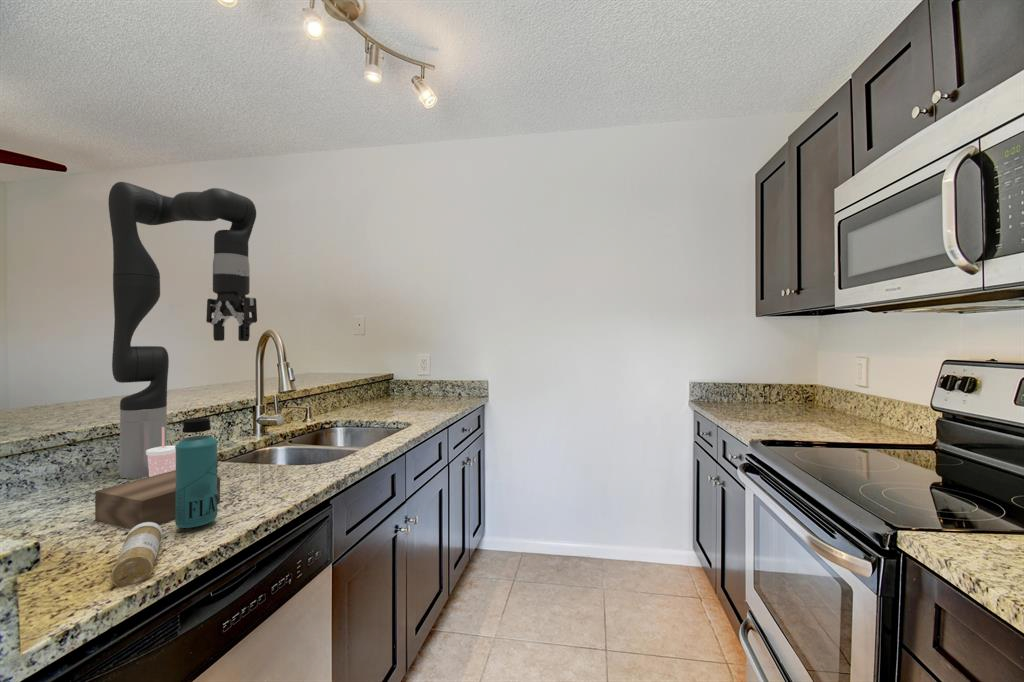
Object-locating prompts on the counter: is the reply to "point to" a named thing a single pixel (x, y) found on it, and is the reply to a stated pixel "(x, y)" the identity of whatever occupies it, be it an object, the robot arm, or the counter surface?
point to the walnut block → (139, 501)
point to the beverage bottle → (196, 476)
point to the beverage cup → (161, 458)
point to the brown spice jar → (137, 555)
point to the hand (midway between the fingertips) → (231, 340)
